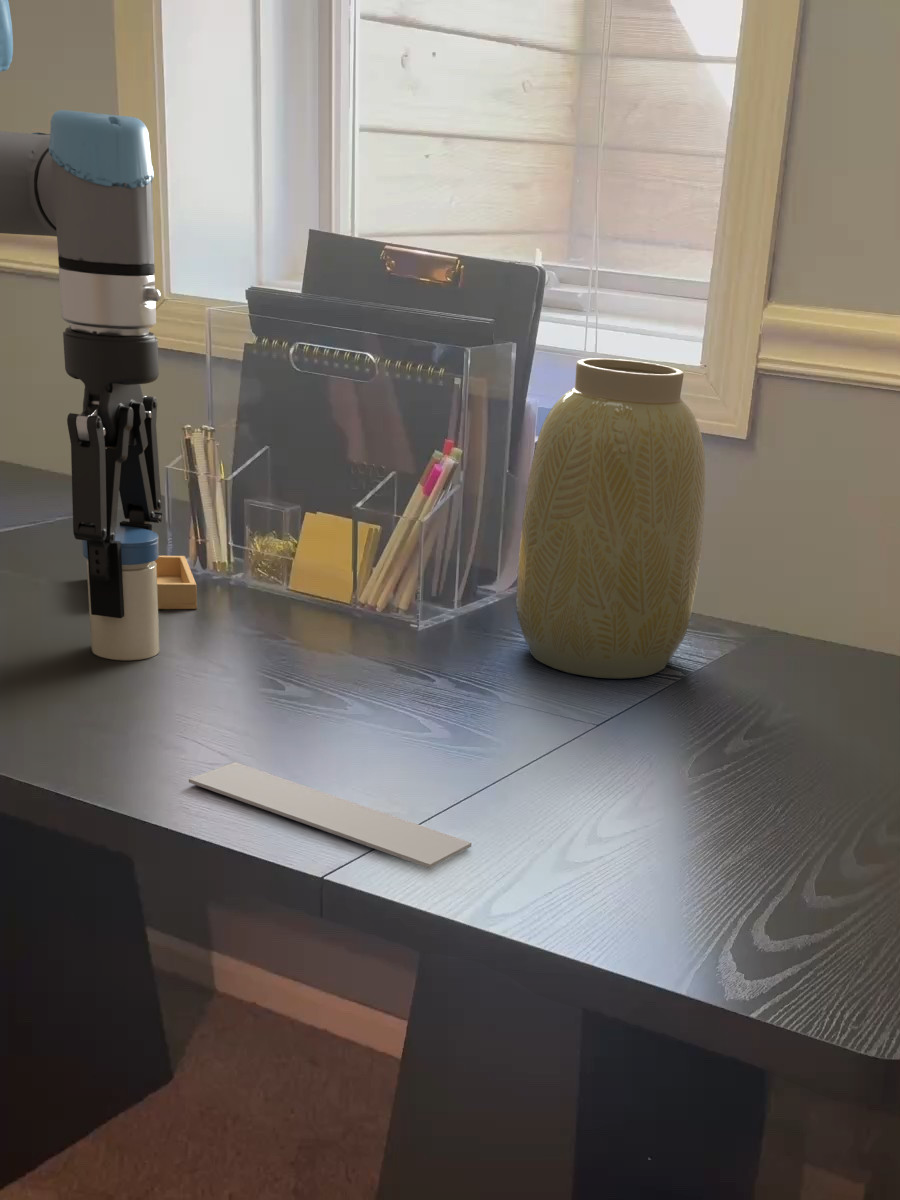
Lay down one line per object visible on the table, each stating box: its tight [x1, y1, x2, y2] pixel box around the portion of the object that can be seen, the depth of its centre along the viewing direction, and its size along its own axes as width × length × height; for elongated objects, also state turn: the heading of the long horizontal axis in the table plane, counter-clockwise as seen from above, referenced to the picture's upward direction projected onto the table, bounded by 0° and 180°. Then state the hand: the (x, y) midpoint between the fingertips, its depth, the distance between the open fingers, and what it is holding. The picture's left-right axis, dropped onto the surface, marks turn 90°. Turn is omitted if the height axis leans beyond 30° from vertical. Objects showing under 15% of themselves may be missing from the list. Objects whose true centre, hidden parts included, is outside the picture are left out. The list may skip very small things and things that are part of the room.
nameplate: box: [188, 761, 472, 869], centre depth 105 cm, size 22×1×5 cm
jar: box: [85, 559, 161, 661], centre depth 131 cm, size 6×6×10 cm
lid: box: [81, 525, 160, 565], centre depth 129 cm, size 6×6×2 cm
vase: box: [515, 358, 706, 680], centre depth 138 cm, size 17×17×27 cm
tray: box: [155, 555, 198, 610], centre depth 149 cm, size 11×10×2 cm
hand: (123, 604), depth 131 cm, fingers closed on lid, 6 cm apart
